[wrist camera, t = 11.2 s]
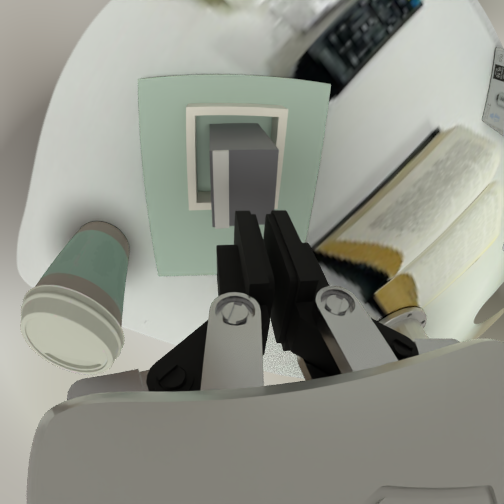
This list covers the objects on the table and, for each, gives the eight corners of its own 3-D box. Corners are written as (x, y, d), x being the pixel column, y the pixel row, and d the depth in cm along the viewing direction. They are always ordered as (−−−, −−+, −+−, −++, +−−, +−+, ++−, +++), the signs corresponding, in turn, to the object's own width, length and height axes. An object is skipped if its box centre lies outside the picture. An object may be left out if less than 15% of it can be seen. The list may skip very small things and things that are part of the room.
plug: (255, 178, 22) (273, 226, 16) (210, 179, 22) (212, 228, 16) (257, 123, 19) (279, 150, 14) (209, 123, 19) (209, 151, 13)
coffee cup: (54, 251, 24) (9, 343, 15) (85, 190, 21) (22, 284, 12) (119, 290, 29) (98, 388, 19) (159, 240, 26) (141, 349, 16)
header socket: (272, 197, 23) (277, 208, 22) (190, 198, 22) (189, 210, 21) (281, 105, 19) (288, 109, 17) (188, 103, 18) (185, 107, 16)
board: (296, 263, 30) (299, 270, 29) (159, 268, 28) (158, 276, 27) (325, 83, 19) (331, 84, 18) (141, 78, 17) (137, 79, 16)
